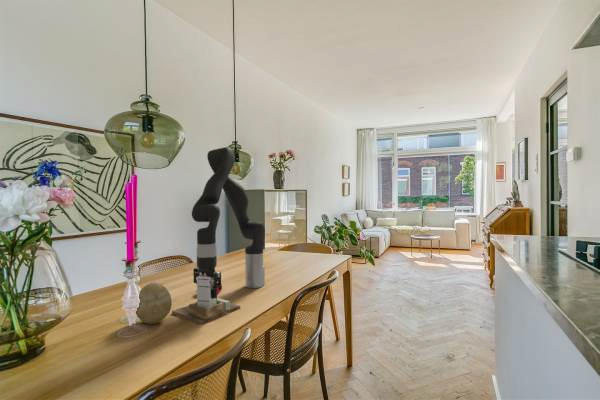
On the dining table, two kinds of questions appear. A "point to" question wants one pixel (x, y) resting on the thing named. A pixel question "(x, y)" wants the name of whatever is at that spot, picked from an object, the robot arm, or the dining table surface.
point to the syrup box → (205, 292)
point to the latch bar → (227, 303)
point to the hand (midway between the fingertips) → (207, 296)
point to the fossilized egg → (153, 303)
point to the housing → (204, 312)
